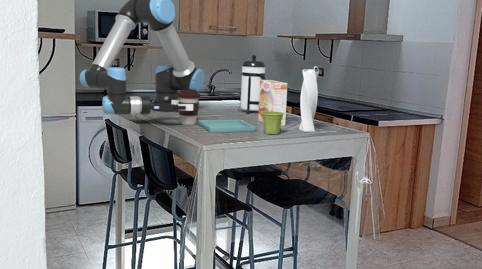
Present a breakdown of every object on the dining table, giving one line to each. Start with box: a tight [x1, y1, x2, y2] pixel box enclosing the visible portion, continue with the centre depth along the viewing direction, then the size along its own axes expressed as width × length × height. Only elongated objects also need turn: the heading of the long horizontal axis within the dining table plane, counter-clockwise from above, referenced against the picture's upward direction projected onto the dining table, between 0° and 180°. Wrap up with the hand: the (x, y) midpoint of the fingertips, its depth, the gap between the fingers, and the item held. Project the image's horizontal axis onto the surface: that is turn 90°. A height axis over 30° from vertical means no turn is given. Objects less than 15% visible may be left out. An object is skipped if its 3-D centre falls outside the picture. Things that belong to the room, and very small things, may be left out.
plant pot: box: [261, 111, 284, 135], centre depth 206 cm, size 9×9×9 cm
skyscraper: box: [296, 65, 320, 133], centre depth 213 cm, size 8×8×28 cm
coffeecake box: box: [257, 79, 288, 127], centre depth 230 cm, size 15×7×20 cm, turn 23°
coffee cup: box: [177, 89, 201, 126], centre depth 220 cm, size 10×10×15 cm
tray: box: [197, 119, 257, 133], centre depth 215 cm, size 20×20×2 cm
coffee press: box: [237, 54, 267, 114], centre depth 262 cm, size 17×16×30 cm
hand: (189, 105), depth 219 cm, fingers open, 13 cm apart
